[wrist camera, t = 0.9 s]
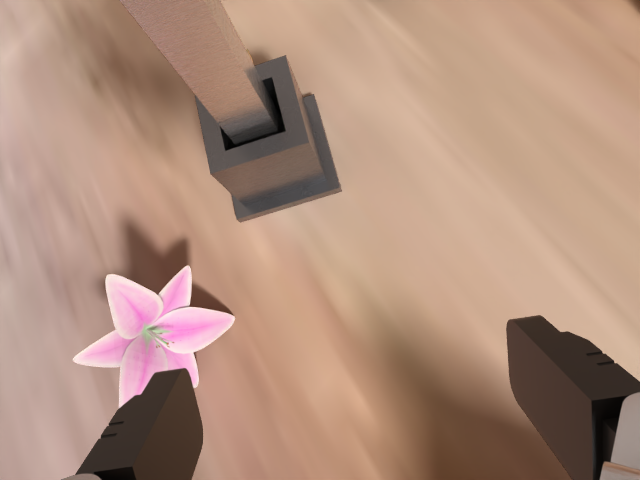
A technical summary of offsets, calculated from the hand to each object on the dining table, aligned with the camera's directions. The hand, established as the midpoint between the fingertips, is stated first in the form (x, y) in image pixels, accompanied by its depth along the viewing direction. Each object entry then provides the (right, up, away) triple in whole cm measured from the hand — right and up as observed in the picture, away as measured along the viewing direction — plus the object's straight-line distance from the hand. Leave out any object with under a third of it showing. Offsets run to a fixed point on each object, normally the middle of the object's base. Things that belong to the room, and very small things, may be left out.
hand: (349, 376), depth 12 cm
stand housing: (-5, +11, +34) cm, 36 cm away
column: (-5, +11, +33) cm, 36 cm away
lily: (-13, -6, +32) cm, 35 cm away
